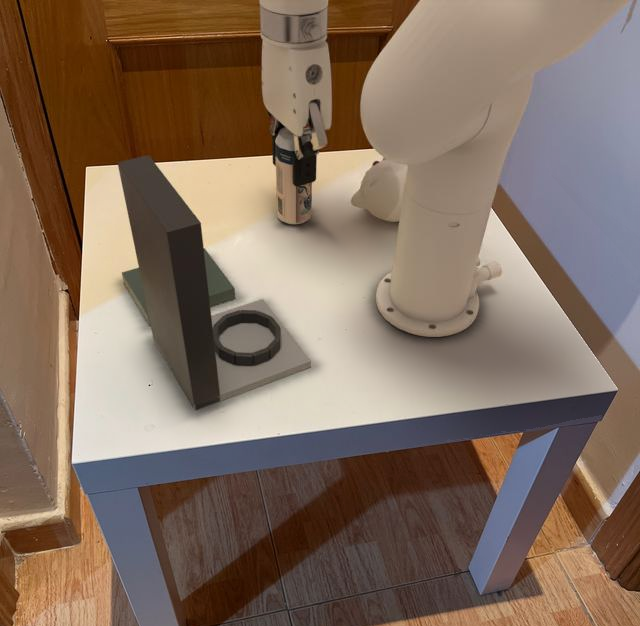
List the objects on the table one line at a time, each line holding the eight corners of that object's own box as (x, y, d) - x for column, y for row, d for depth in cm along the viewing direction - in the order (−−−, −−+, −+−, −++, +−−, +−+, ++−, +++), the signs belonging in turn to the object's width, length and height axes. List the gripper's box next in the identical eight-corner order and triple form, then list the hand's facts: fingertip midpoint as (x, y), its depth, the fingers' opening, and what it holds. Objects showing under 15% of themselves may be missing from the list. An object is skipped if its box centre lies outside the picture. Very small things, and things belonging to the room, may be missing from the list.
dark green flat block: (205, 259, 89) (203, 235, 86) (235, 299, 84) (233, 276, 81) (123, 283, 85) (118, 260, 83) (150, 327, 80) (145, 303, 78)
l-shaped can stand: (263, 304, 84) (256, 129, 67) (311, 367, 77) (317, 189, 60) (153, 341, 79) (117, 162, 62) (194, 411, 72) (166, 232, 55)
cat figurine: (456, 134, 93) (363, 145, 87) (477, 188, 92) (384, 202, 86) (421, 173, 102) (334, 185, 96) (440, 222, 101) (353, 238, 95)
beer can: (307, 229, 94) (308, 144, 85) (273, 224, 94) (270, 140, 85) (314, 210, 97) (316, 126, 88) (281, 205, 97) (280, 122, 88)
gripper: (362, 43, 73) (351, 197, 87) (287, -8, 83) (289, 138, 96) (300, 56, 71) (299, 212, 84) (231, 1, 80) (240, 150, 94)
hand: (294, 171), depth 90 cm, fingers closed on beer can, 4 cm apart
